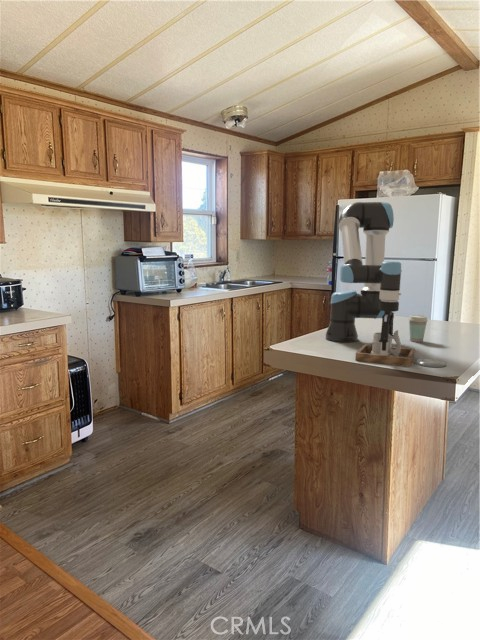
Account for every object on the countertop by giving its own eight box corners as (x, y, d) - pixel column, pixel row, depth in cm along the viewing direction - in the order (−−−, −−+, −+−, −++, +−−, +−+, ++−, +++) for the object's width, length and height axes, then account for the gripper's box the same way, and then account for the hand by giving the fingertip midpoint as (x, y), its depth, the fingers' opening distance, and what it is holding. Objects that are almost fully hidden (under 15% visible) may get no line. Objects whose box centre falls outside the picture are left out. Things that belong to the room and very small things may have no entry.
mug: (373, 354, 200) (375, 326, 199) (402, 358, 194) (404, 329, 192) (368, 358, 194) (369, 329, 192) (397, 362, 188) (399, 332, 186)
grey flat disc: (413, 365, 184) (413, 363, 183) (416, 359, 193) (416, 357, 193) (444, 368, 179) (445, 367, 179) (446, 362, 189) (446, 360, 189)
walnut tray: (355, 360, 190) (355, 352, 190) (364, 351, 207) (364, 344, 206) (409, 366, 182) (410, 358, 181) (414, 356, 198) (414, 349, 198)
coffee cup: (427, 343, 224) (429, 318, 222) (408, 342, 226) (410, 317, 224) (424, 339, 233) (426, 315, 231) (405, 338, 234) (407, 314, 232)
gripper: (395, 304, 179) (391, 362, 182) (402, 298, 199) (398, 350, 202) (374, 303, 182) (371, 360, 186) (383, 297, 202) (380, 349, 206)
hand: (385, 355), depth 194 cm, fingers open, 10 cm apart
